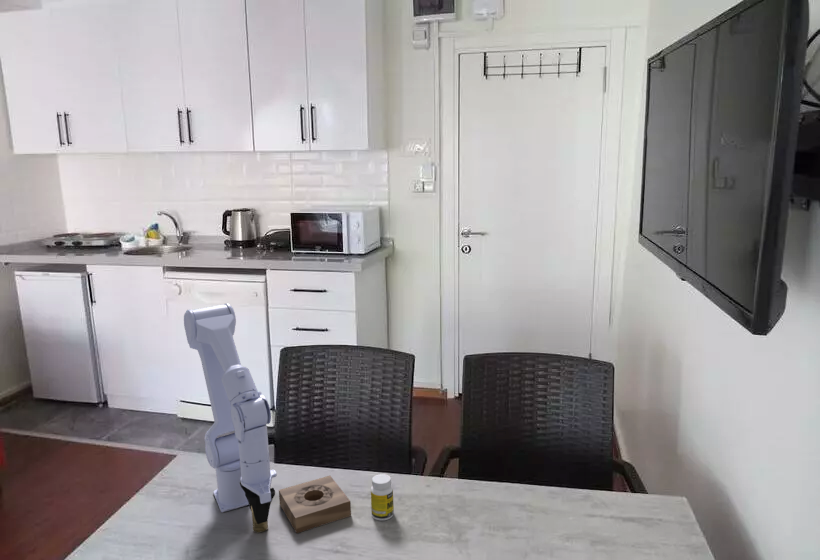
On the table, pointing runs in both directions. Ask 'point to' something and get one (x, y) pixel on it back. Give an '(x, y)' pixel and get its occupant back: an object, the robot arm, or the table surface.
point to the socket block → (314, 503)
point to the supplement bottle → (382, 497)
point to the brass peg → (258, 527)
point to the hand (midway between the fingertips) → (259, 517)
